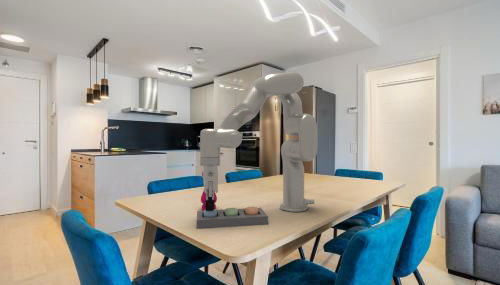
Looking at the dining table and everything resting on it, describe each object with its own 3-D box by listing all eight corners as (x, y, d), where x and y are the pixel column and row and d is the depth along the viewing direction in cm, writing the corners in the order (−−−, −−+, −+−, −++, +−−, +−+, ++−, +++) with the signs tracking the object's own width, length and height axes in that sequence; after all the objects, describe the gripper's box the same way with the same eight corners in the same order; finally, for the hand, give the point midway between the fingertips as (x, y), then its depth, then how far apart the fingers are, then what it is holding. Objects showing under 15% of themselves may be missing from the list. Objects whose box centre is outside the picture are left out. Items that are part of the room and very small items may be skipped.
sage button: (236, 215, 102) (236, 207, 102) (238, 218, 97) (238, 211, 97) (224, 215, 101) (224, 208, 101) (225, 219, 96) (225, 211, 96)
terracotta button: (256, 214, 103) (256, 206, 103) (259, 217, 98) (259, 209, 98) (244, 214, 102) (244, 207, 102) (246, 218, 97) (246, 210, 97)
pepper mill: (213, 211, 112) (213, 165, 112) (198, 210, 113) (198, 165, 113) (219, 207, 119) (219, 164, 119) (204, 206, 120) (204, 163, 120)
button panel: (260, 214, 107) (260, 207, 107) (268, 224, 95) (268, 216, 95) (197, 218, 102) (197, 210, 102) (196, 228, 91) (196, 220, 91)
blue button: (216, 216, 100) (216, 208, 100) (217, 220, 95) (217, 212, 95) (203, 216, 99) (203, 209, 99) (203, 220, 94) (203, 212, 94)
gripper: (221, 163, 90) (221, 215, 91) (218, 160, 105) (218, 204, 105) (199, 163, 89) (199, 216, 89) (200, 160, 104) (199, 205, 104)
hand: (209, 210), depth 97 cm, fingers closed
